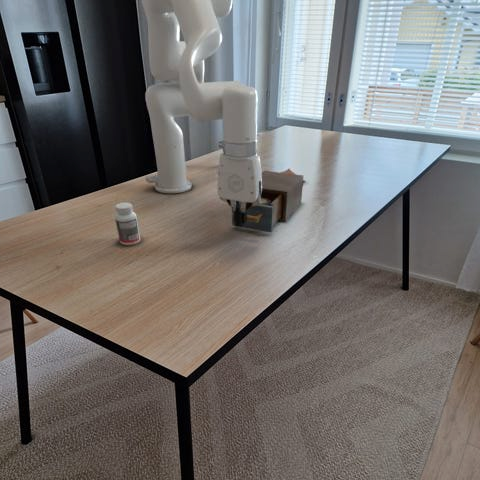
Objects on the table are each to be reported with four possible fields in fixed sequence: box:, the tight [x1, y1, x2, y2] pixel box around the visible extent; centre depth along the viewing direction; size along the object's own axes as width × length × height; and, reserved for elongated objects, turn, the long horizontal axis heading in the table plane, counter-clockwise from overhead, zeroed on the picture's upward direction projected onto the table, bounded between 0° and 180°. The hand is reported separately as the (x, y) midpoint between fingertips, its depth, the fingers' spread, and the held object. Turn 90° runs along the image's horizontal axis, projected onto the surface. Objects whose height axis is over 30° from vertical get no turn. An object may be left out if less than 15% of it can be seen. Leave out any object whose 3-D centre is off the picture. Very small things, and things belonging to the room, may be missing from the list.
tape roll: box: [261, 198, 271, 206], centre depth 114 cm, size 6×6×5 cm
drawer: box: [231, 191, 284, 233], centre depth 113 cm, size 19×12×7 cm, turn 156°
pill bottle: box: [114, 202, 141, 246], centre depth 105 cm, size 5×5×10 cm
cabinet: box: [261, 170, 304, 223], centre depth 123 cm, size 16×13×9 cm
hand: (240, 224), depth 103 cm, fingers closed
